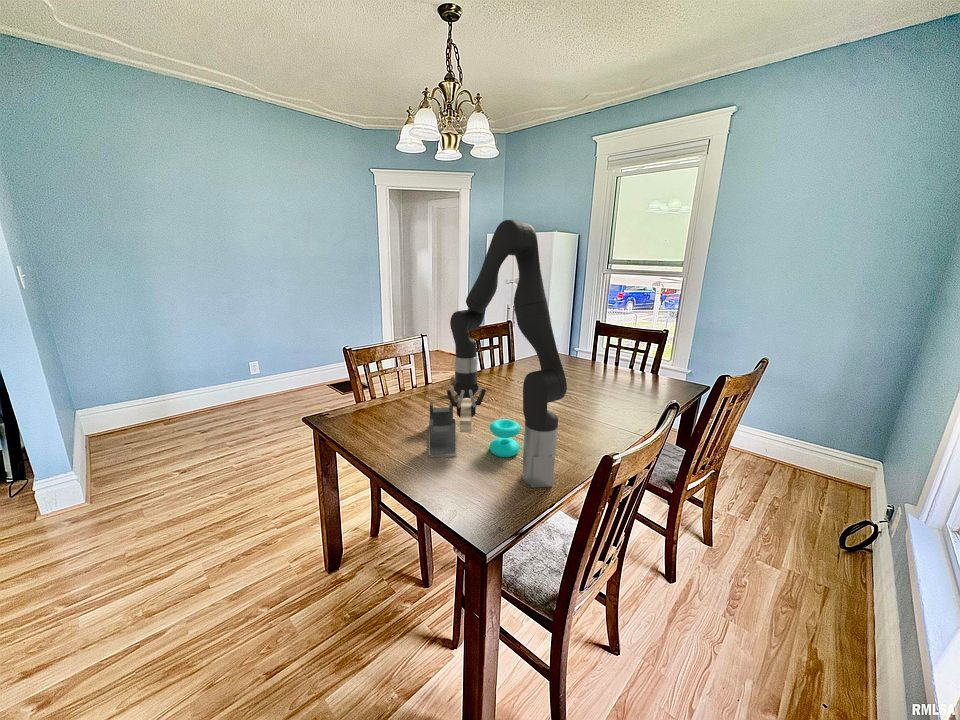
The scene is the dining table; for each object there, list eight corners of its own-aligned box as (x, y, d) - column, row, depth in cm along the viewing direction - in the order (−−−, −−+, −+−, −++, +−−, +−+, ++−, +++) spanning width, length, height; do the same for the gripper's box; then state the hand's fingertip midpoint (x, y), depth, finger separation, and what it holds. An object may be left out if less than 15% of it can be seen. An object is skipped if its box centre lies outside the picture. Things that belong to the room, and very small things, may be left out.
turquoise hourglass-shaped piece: (513, 416, 131) (525, 428, 122) (512, 442, 134) (523, 456, 125) (486, 419, 129) (495, 432, 119) (485, 446, 131) (494, 460, 122)
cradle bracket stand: (456, 456, 124) (456, 426, 121) (428, 457, 123) (428, 427, 120) (453, 424, 147) (452, 399, 144) (429, 425, 146) (428, 399, 143)
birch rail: (470, 432, 123) (470, 420, 122) (459, 432, 123) (459, 420, 122) (471, 407, 144) (471, 397, 143) (462, 407, 144) (462, 397, 143)
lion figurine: (447, 395, 177) (447, 377, 175) (453, 392, 182) (453, 374, 180) (476, 400, 172) (476, 381, 169) (481, 397, 176) (481, 378, 174)
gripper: (445, 372, 125) (446, 421, 129) (488, 371, 126) (487, 419, 131) (444, 366, 132) (445, 413, 136) (485, 365, 134) (484, 411, 138)
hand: (466, 416), depth 133 cm, fingers closed on birch rail, 3 cm apart
